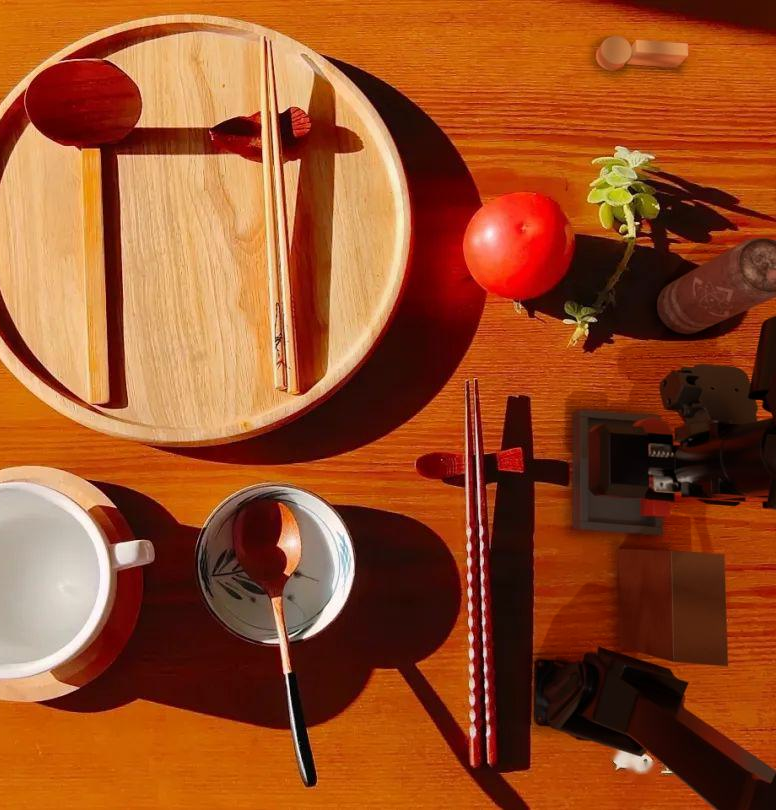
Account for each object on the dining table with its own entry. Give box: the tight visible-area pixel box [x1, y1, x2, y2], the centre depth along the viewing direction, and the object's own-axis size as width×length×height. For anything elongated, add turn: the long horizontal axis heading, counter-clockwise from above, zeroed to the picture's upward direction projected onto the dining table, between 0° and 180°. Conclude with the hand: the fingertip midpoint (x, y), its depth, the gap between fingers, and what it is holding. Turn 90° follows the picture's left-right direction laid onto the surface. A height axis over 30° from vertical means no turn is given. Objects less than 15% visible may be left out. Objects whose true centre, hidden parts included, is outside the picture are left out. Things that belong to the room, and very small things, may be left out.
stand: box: [617, 548, 729, 667], centre depth 75 cm, size 10×5×10 cm, turn 176°
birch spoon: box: [595, 35, 689, 72], centre depth 90 cm, size 10×4×2 cm, turn 86°
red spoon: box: [633, 417, 674, 518], centre depth 74 cm, size 10×4×2 cm, turn 176°
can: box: [656, 237, 776, 335], centre depth 79 cm, size 6×6×14 cm
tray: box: [571, 409, 664, 536], centre depth 81 cm, size 13×9×2 cm
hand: (648, 475), depth 75 cm, fingers closed on red spoon, 1 cm apart
